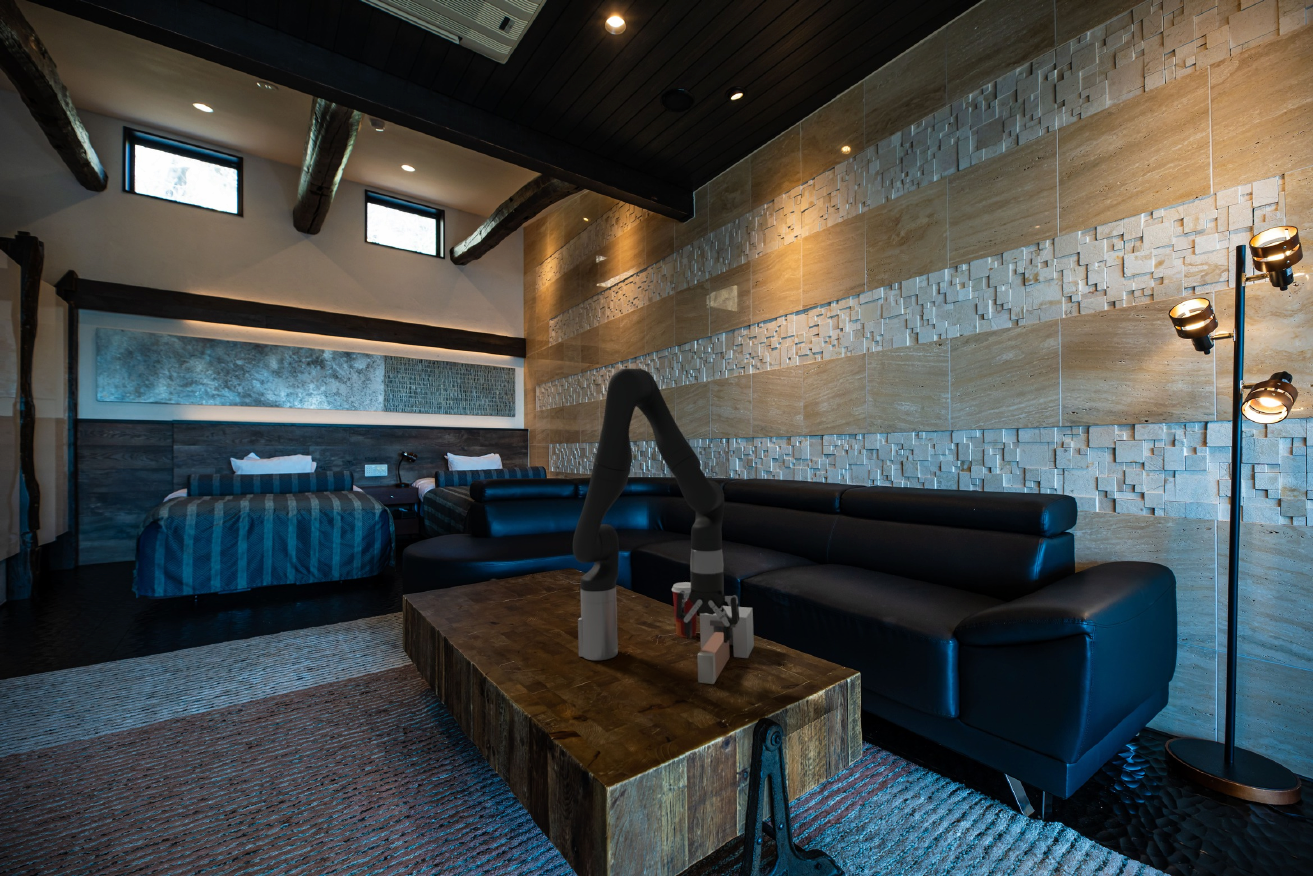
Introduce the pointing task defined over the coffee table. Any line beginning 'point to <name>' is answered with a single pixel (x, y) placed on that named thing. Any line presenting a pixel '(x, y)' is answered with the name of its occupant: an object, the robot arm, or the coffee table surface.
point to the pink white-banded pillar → (712, 658)
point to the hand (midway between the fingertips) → (707, 639)
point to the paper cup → (687, 607)
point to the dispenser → (739, 632)
